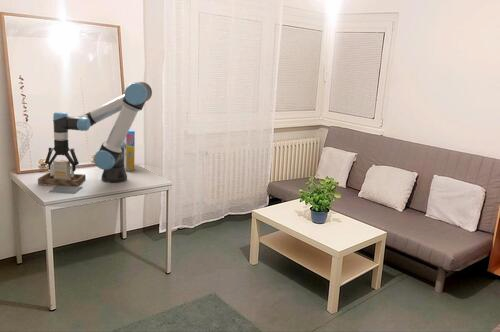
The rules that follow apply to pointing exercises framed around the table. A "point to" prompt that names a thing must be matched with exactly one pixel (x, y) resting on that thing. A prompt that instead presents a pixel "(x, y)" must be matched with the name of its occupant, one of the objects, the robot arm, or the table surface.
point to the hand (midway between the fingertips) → (62, 175)
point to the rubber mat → (65, 189)
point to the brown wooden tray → (61, 180)
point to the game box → (129, 150)
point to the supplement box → (62, 169)
